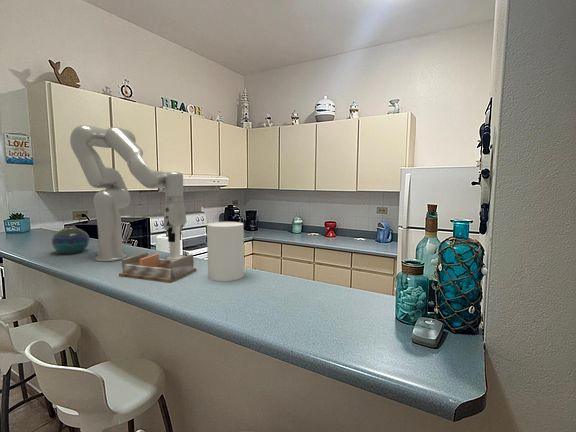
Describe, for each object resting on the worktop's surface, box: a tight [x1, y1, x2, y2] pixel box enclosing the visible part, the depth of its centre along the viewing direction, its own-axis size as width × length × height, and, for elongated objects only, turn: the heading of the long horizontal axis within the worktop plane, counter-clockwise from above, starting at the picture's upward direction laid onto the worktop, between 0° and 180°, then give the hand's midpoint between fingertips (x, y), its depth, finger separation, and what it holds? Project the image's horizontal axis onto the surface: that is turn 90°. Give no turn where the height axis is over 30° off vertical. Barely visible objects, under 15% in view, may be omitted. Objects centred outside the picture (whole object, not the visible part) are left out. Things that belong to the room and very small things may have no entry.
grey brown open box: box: [118, 252, 197, 283], centre depth 123 cm, size 23×16×7 cm
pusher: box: [139, 253, 160, 267], centre depth 124 cm, size 1×9×5 cm, turn 163°
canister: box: [206, 221, 245, 282], centre depth 120 cm, size 14×14×20 cm
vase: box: [51, 224, 90, 255], centre depth 156 cm, size 15×15×13 cm
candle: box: [166, 225, 184, 260], centre depth 142 cm, size 7×7×25 cm
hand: (174, 240), depth 142 cm, fingers closed on candle, 3 cm apart
